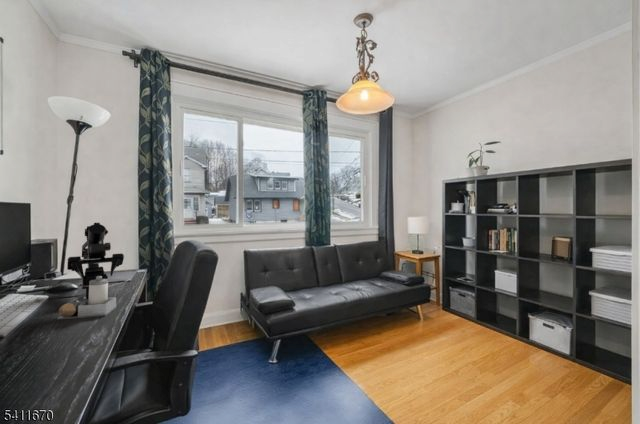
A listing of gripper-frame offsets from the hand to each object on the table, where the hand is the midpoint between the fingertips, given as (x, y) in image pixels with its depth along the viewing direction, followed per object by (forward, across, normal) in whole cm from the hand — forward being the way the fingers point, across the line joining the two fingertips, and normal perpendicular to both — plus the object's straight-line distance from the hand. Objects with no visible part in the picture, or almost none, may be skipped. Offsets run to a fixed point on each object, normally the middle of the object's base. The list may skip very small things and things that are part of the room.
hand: (97, 277), depth 113 cm
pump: (+12, 0, +6) cm, 14 cm away
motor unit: (+12, -3, +8) cm, 14 cm away
